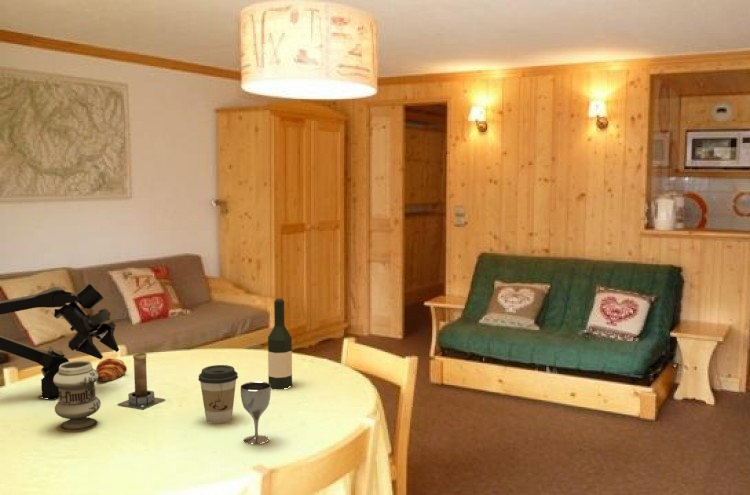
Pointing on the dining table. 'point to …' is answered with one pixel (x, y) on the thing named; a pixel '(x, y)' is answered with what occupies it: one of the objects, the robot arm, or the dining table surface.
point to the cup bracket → (141, 401)
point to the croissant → (110, 369)
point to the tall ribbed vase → (140, 374)
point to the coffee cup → (218, 392)
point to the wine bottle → (279, 351)
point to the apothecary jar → (76, 395)
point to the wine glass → (255, 405)
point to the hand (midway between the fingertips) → (110, 354)
